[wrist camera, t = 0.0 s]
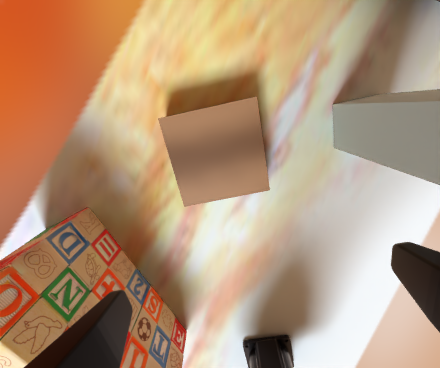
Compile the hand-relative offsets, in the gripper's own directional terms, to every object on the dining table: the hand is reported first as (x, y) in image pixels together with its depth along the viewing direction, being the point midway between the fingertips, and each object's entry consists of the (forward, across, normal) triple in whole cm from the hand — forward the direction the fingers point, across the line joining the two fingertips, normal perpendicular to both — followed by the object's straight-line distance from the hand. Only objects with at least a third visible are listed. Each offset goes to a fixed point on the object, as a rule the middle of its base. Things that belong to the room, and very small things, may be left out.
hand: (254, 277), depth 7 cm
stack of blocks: (+15, +16, +12) cm, 25 cm away
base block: (+15, +1, -2) cm, 15 cm away
